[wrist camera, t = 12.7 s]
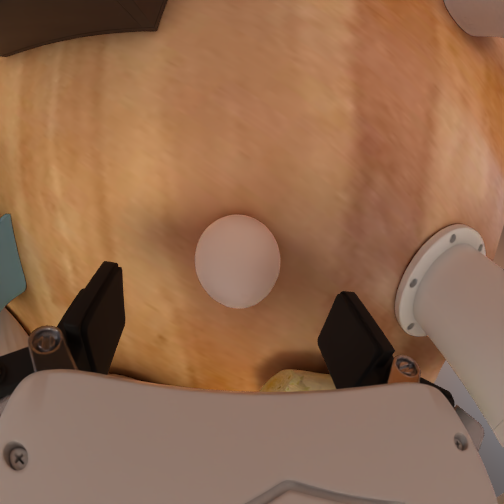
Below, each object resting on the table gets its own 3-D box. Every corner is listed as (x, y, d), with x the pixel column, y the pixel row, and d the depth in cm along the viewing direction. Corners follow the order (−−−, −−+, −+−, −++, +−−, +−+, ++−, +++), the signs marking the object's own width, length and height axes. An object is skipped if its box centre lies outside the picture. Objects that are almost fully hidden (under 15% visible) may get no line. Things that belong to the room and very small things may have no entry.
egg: (260, 193, 17) (279, 230, 11) (278, 258, 19) (300, 317, 13) (189, 215, 17) (170, 263, 11) (213, 276, 19) (209, 341, 13)
